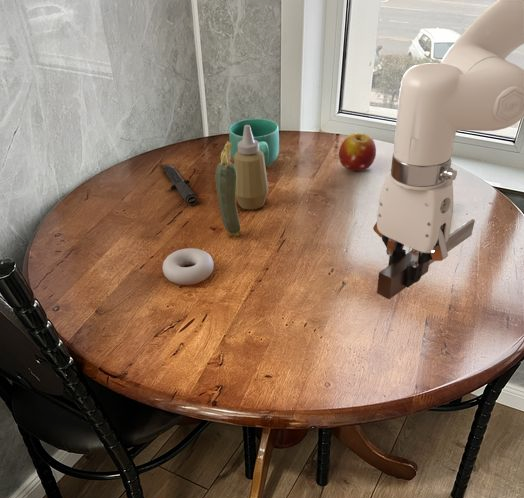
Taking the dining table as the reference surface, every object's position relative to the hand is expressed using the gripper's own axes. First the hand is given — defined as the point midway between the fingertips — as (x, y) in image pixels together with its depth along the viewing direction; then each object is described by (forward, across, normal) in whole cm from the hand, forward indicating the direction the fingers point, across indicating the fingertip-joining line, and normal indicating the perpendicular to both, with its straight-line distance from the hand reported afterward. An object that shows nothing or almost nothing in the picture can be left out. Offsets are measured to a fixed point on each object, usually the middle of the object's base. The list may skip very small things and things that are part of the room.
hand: (403, 278), depth 85 cm
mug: (+10, +64, -25) cm, 70 cm away
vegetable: (+10, +43, +1) cm, 44 cm away
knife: (+10, +71, -6) cm, 72 cm away
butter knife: (+1, 0, -7) cm, 7 cm away
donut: (+10, +38, +16) cm, 42 cm away
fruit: (+11, +45, -42) cm, 63 cm away
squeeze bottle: (+10, +50, -12) cm, 53 cm away
